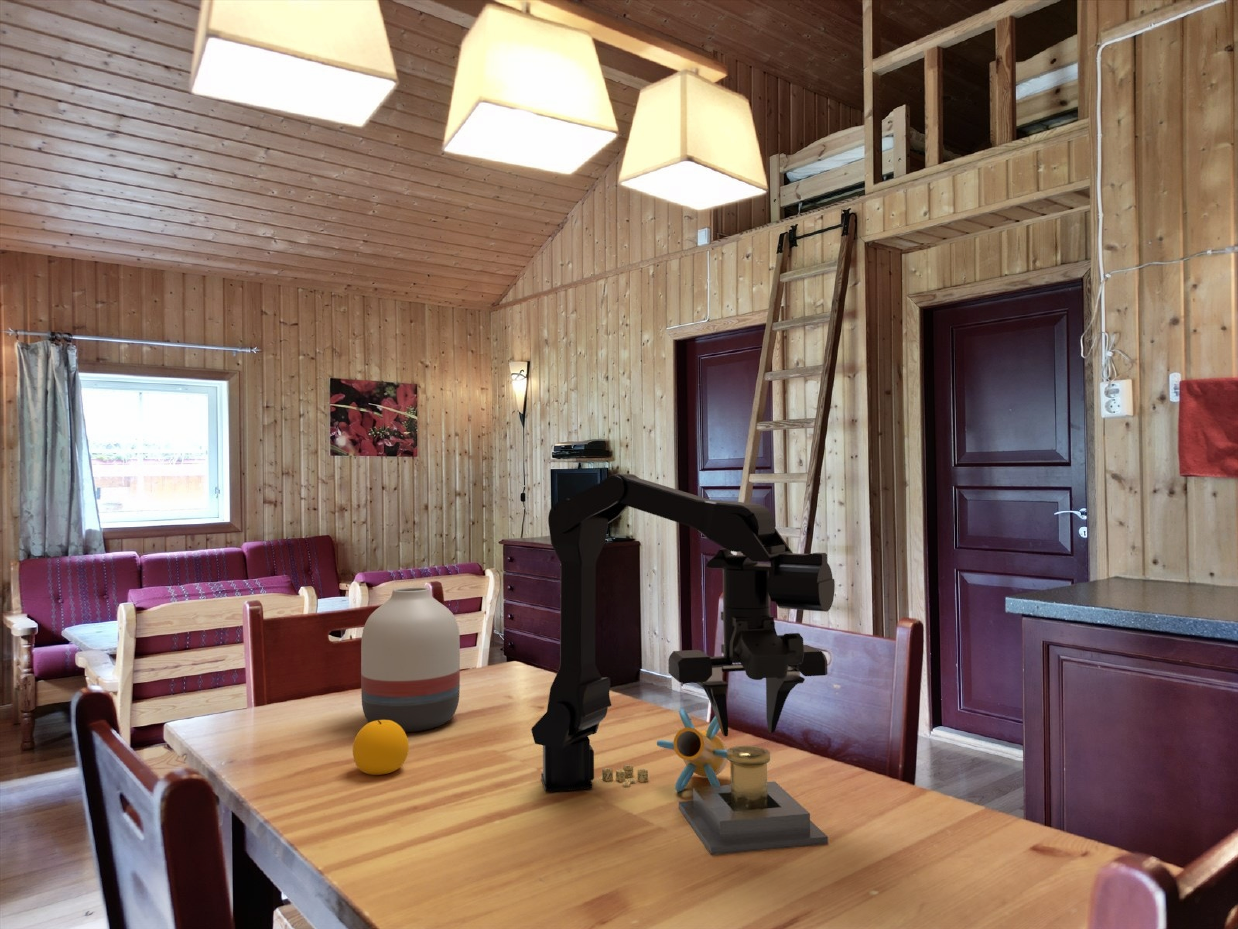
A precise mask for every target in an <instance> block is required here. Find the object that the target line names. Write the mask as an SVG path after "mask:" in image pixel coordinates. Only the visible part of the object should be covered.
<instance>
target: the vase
mask: <svg viewBox="0 0 1238 929" xmlns="http://www.w3.org/2000/svg"><path fill="white" fill-rule="evenodd" d="M460 637H461V635H460V629H459V625H458V622H457V618H456V617H455V616H454V613H453V612H452V611H451V610H450V609H449V608H448V607H447V606H445V605H444V604H443V603H441V602H439V600H437V599H436V598H435V597H433V595H432V594H431V591H430V588H429V587H424V586H423V587H421V586H410V587H408V586H407V587H406V586H405V587H399V588H394V589H392V593H391V596H390V598H388V600H386V601H385V602H384V603H383V604H382V605H380V606H379V607H378V608H376V609H375V610H374V611H373V612H372V613H371V614H370V615H369V616H368V618H367V619H366V622H365V624H364V626H363V629H362V634H361V641H360V642H361V645H360V647H361V648H360V649H361V651H360V654H361V655H360V656H361V658H360V659H361V662H360V663H361V664H360V666H361V667H360V669H361V670H360V671H361V672H360V674H361V675H360V677H361V678H360V680H361V682H360V684H361V686H360V687H361V691H360V692H361V707H362V712H363V715H364V717H365V719H366V721H367V722H368V723H370V722H372V721H377V720H391V721H393V722H395V723H397V724H398V725H400V726H401V727H402V729H403V730H404V732H405V733H412V732H420V731H421V732H422V731H426V730H431V729H435V728H437V727H440V726H442V725H444V724H446V723H447V722H449V721H450V720H451V719H452V718H454V715H455V714H456V712H457V709H458V706H459V703H460V687H461V684H460V682H461V678H460V675H461V674H460V672H461V668H460V666H461V661H460V660H461V651H460V649H461V648H460V646H461V644H460V643H461V641H460Z"/></svg>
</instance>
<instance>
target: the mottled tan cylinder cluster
mask: <svg viewBox="0 0 1238 929" xmlns="http://www.w3.org/2000/svg"><path fill="white" fill-rule="evenodd" d="M601 772H602V774H601V775H602V780H603V781H604V782H611V781H613V780H614V770H613V769H612V768H609V767H607V768H606V767H605V768H603V769H602V770H601ZM648 777H649V772H648V769H645V768H641V769H638V770H637V782H640V783H647V782H648V781H649V778H648ZM626 778H627V781H626ZM615 782H619V783H622V787H623V788H630V787H631V784H636V778H635V777H634V766H633V764H625V765H623V766H622V769H616V770H615Z"/></svg>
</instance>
